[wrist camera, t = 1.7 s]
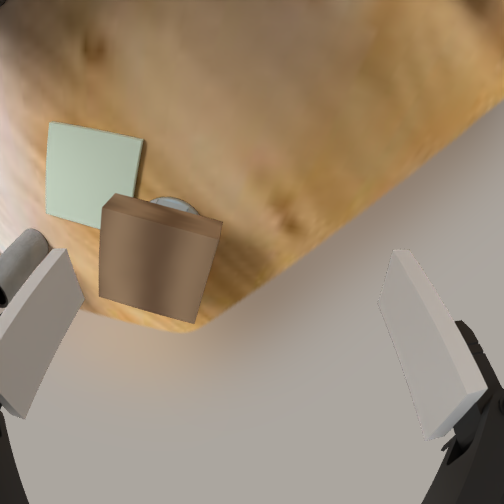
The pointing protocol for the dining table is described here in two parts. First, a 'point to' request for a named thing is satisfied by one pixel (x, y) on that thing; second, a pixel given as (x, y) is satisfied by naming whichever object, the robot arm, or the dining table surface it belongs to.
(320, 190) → the dining table surface
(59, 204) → the mat
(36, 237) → the grey cylinder
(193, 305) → the cover
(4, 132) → the dining table surface
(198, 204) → the dining table surface
